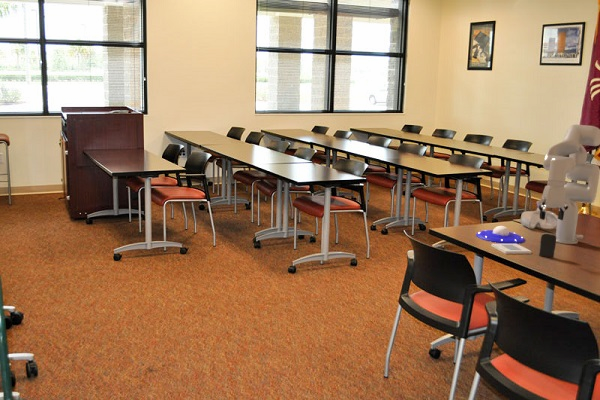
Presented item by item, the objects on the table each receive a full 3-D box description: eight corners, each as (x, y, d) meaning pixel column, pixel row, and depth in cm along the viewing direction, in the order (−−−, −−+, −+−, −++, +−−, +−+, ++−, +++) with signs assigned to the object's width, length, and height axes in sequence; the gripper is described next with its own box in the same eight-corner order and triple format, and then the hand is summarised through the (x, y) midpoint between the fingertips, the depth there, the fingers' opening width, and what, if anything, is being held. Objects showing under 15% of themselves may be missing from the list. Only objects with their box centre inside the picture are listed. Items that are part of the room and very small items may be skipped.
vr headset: (527, 230, 366) (530, 205, 363) (518, 225, 377) (520, 201, 374) (557, 231, 368) (560, 206, 365) (547, 226, 379) (550, 202, 377)
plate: (516, 245, 329) (516, 243, 329) (531, 253, 316) (531, 251, 316) (491, 245, 326) (491, 243, 326) (505, 253, 313) (505, 251, 312)
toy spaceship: (476, 241, 335) (477, 228, 334) (475, 230, 359) (476, 218, 358) (527, 247, 330) (528, 233, 328) (522, 235, 354) (524, 223, 352)
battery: (554, 256, 312) (557, 233, 310) (553, 258, 309) (556, 235, 307) (539, 254, 315) (542, 231, 313) (538, 256, 312) (541, 233, 310)
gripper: (567, 183, 311) (562, 218, 314) (535, 182, 307) (530, 217, 310) (577, 185, 303) (572, 221, 306) (544, 184, 300) (539, 220, 303)
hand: (551, 219), depth 308 cm, fingers open, 9 cm apart
